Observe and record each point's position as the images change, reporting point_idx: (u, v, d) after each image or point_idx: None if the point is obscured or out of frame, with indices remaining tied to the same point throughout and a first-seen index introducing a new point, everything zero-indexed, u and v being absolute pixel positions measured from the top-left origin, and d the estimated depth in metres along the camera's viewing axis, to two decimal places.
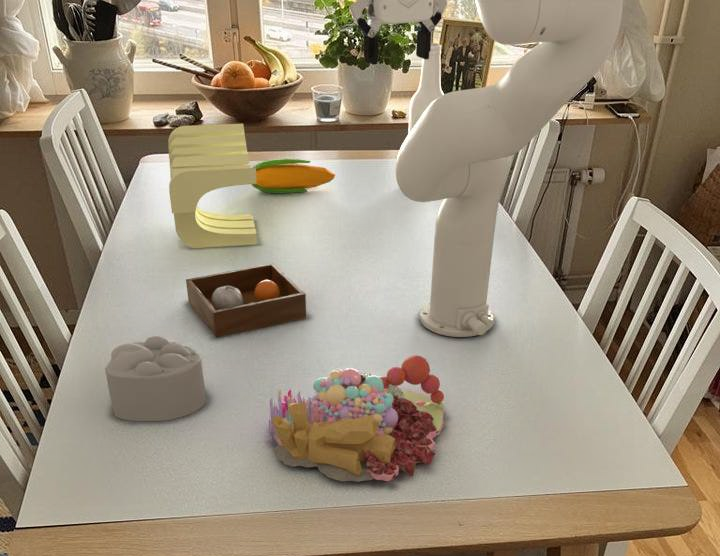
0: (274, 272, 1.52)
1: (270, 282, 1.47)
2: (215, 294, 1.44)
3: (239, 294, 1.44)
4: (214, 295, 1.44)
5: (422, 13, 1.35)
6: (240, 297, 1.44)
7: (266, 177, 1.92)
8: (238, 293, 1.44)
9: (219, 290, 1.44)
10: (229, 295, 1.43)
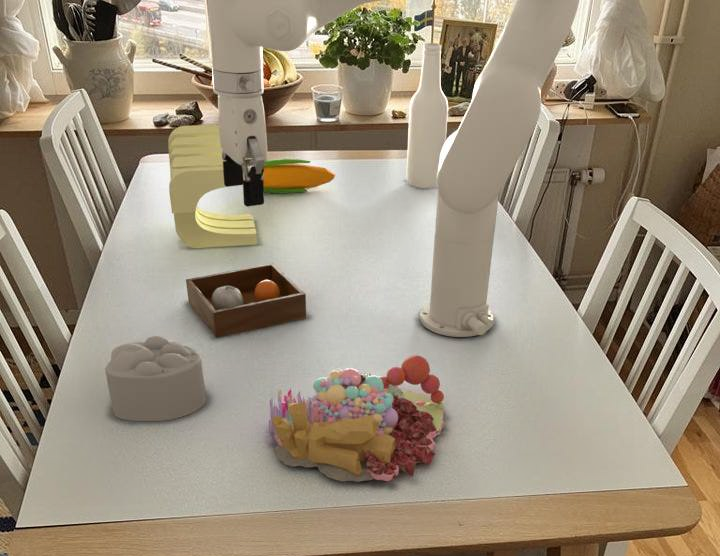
0: (274, 272, 1.52)
1: (270, 282, 1.47)
2: (215, 294, 1.44)
3: (239, 294, 1.44)
4: (214, 295, 1.44)
5: None
6: (240, 297, 1.44)
7: (266, 177, 1.92)
8: (238, 293, 1.44)
9: (219, 290, 1.44)
10: (229, 295, 1.43)
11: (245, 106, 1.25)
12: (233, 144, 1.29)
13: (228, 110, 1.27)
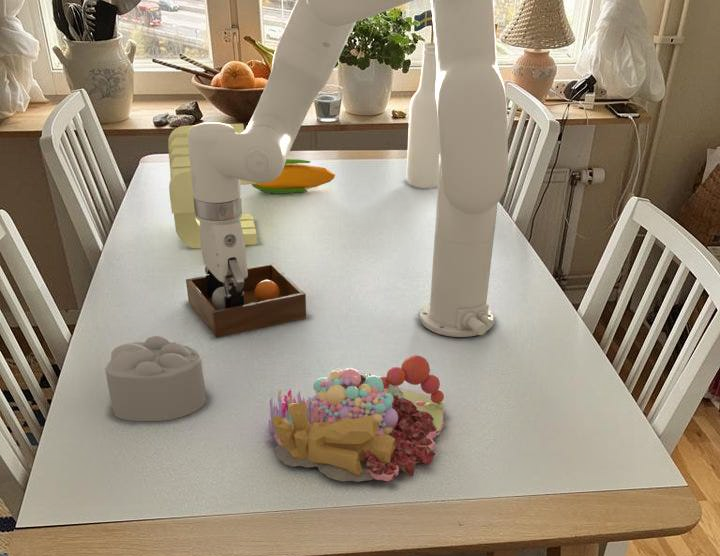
0: (274, 272, 1.52)
1: (270, 282, 1.47)
2: (215, 294, 1.44)
3: None
4: (214, 295, 1.44)
5: None
6: None
7: None
8: None
9: (219, 290, 1.44)
10: None
11: (225, 232, 1.34)
12: (215, 264, 1.37)
13: (209, 234, 1.35)
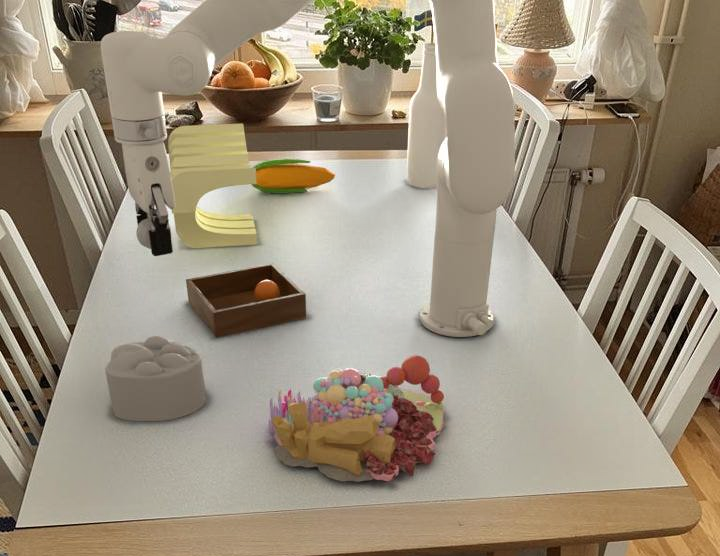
0: (274, 272, 1.52)
1: (270, 282, 1.47)
2: (140, 225, 1.31)
3: None
4: (139, 226, 1.31)
5: None
6: None
7: (266, 177, 1.92)
8: None
9: (144, 221, 1.32)
10: None
11: (146, 154, 1.21)
12: (138, 192, 1.25)
13: (130, 158, 1.23)
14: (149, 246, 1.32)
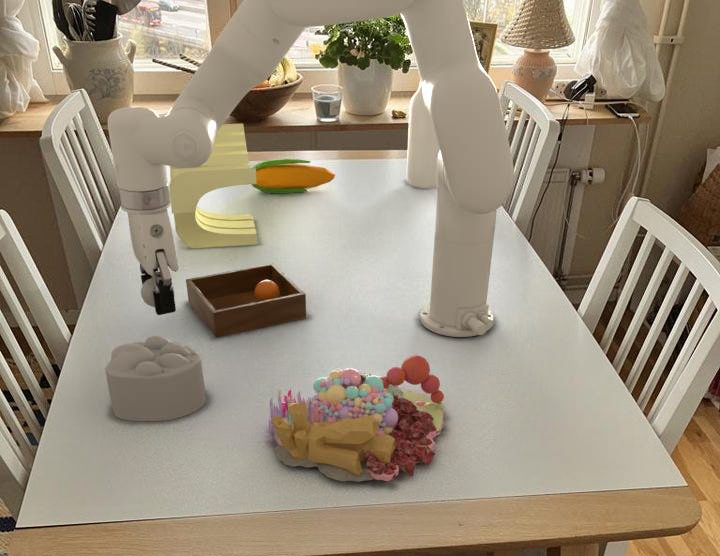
0: (274, 272, 1.52)
1: (270, 282, 1.47)
2: (144, 286, 1.37)
3: None
4: (143, 287, 1.37)
5: None
6: None
7: (266, 177, 1.92)
8: None
9: (148, 281, 1.37)
10: None
11: (151, 222, 1.27)
12: (143, 256, 1.31)
13: (135, 225, 1.29)
14: (153, 305, 1.38)
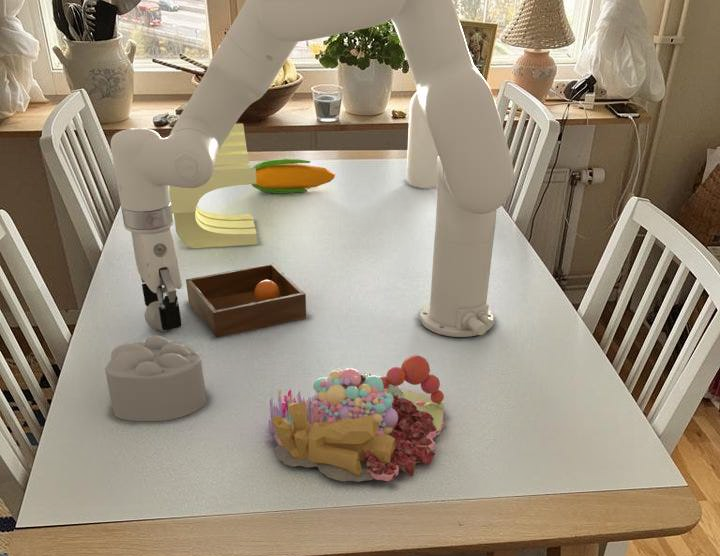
0: (274, 272, 1.52)
1: (270, 282, 1.47)
2: (148, 309, 1.39)
3: None
4: (147, 310, 1.40)
5: None
6: None
7: (266, 177, 1.92)
8: None
9: (152, 305, 1.40)
10: None
11: (154, 241, 1.29)
12: (146, 275, 1.33)
13: (139, 244, 1.31)
14: (157, 328, 1.40)
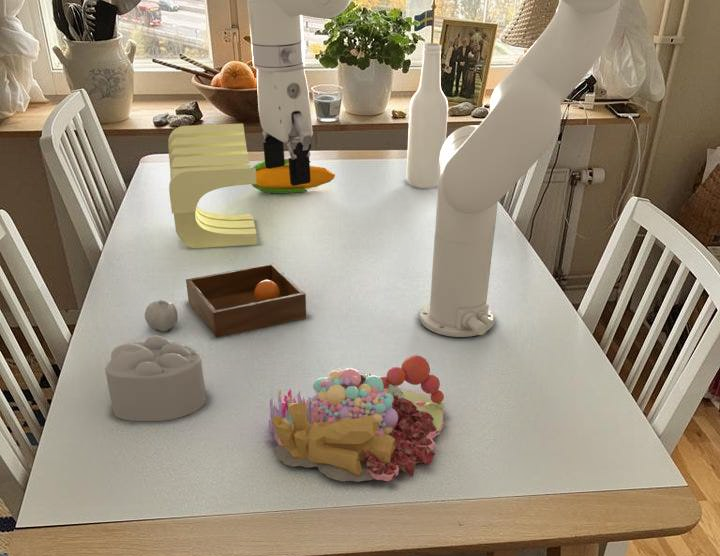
0: (274, 272, 1.52)
1: (270, 282, 1.47)
2: (148, 309, 1.39)
3: (173, 309, 1.40)
4: (147, 310, 1.40)
5: None
6: (174, 312, 1.40)
7: (266, 177, 1.92)
8: (172, 308, 1.40)
9: (152, 305, 1.40)
10: (162, 310, 1.39)
11: (288, 80, 1.20)
12: (277, 121, 1.24)
13: (270, 86, 1.22)
14: (157, 328, 1.40)
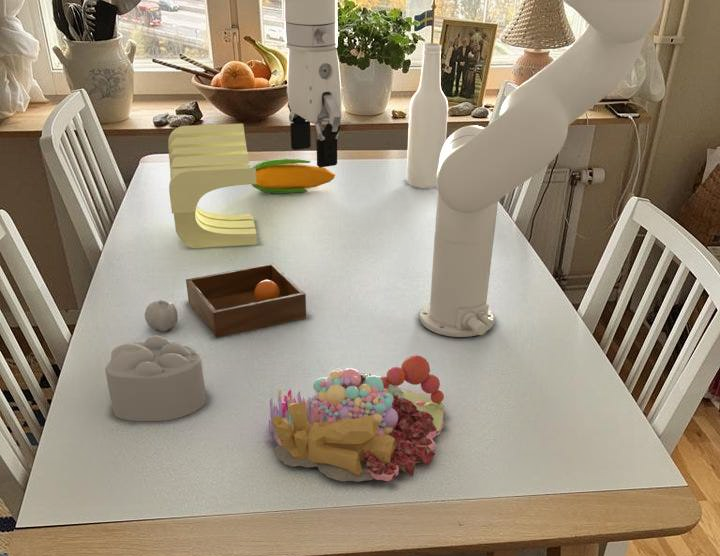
0: (274, 272, 1.52)
1: (270, 282, 1.47)
2: (148, 309, 1.39)
3: (173, 309, 1.40)
4: (147, 310, 1.40)
5: None
6: (174, 312, 1.40)
7: (266, 177, 1.92)
8: (172, 308, 1.40)
9: (152, 305, 1.40)
10: (162, 310, 1.39)
11: (321, 60, 1.20)
12: (307, 102, 1.24)
13: (302, 65, 1.22)
14: (157, 328, 1.40)
